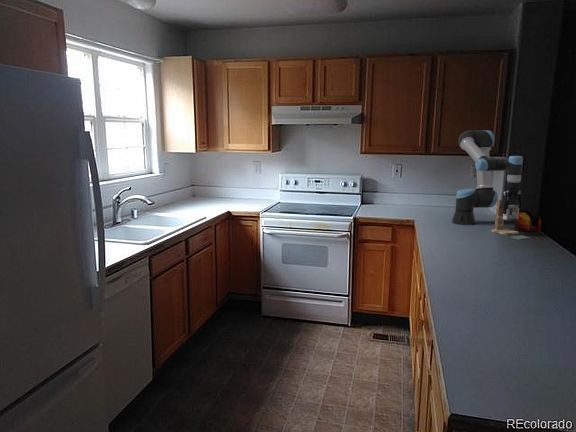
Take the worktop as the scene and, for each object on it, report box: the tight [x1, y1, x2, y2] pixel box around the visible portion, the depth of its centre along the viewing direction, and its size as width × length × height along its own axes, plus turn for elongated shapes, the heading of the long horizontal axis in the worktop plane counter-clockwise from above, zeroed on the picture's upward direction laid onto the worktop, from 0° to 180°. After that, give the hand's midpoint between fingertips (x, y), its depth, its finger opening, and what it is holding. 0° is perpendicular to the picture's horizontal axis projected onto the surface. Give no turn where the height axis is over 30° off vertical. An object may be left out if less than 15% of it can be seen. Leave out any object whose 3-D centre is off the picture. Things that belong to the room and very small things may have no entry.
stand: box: [490, 199, 520, 236], centre depth 267 cm, size 13×10×20 cm
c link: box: [505, 204, 519, 220], centre depth 264 cm, size 8×3×8 cm, turn 111°
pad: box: [510, 235, 531, 241], centre depth 254 cm, size 6×9×1 cm, turn 111°
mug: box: [513, 209, 542, 233], centre depth 275 cm, size 10×14×12 cm
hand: (510, 218), depth 265 cm, fingers closed on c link, 8 cm apart
